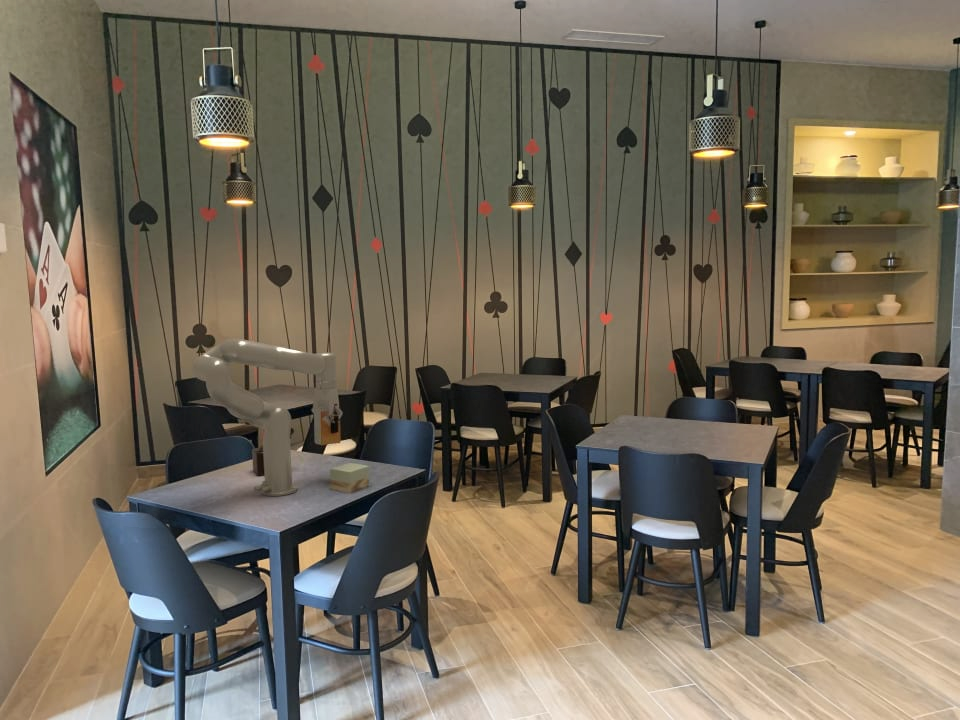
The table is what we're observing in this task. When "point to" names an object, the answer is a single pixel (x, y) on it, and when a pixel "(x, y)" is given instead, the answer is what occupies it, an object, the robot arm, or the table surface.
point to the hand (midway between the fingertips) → (327, 431)
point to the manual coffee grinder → (260, 459)
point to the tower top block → (349, 472)
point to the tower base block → (349, 485)
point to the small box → (324, 429)
